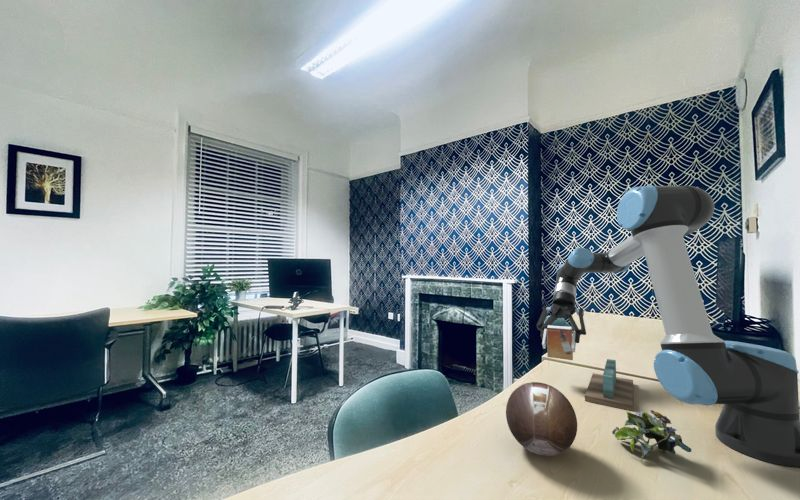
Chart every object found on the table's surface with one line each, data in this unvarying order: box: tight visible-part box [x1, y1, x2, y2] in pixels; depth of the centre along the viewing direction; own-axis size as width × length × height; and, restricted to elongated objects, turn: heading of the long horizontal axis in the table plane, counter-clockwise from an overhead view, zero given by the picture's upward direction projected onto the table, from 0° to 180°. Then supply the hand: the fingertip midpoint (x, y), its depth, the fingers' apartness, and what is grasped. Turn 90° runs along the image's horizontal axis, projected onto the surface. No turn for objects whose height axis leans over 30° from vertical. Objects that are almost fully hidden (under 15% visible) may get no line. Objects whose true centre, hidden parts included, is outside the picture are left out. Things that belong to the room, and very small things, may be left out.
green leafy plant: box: [611, 409, 692, 459], centre depth 72 cm, size 11×11×12 cm
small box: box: [546, 325, 574, 361], centre depth 113 cm, size 8×6×10 cm
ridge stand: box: [584, 358, 634, 412], centre depth 106 cm, size 24×12×8 cm, turn 144°
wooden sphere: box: [505, 381, 578, 457], centre depth 74 cm, size 15×15×15 cm
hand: (558, 348), depth 111 cm, fingers closed on small box, 8 cm apart
